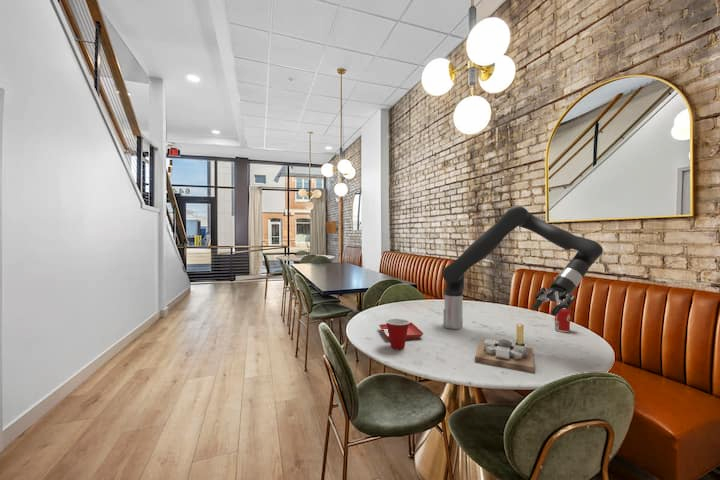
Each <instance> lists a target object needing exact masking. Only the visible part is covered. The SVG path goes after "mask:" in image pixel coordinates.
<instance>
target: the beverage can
mask: <svg viewBox="0 0 720 480" xmlns="http://www.w3.org/2000/svg"><path fill="white" fill-rule="evenodd" d="M570 324H571V310H570V308H568V309H565V308H563V309H561V310H560V311H559V312H558V314H557V315H555V316H554V329H555V330H556V331H557V332H560V333H568V332H569V331H571V326H570Z"/></svg>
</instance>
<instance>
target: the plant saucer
mask: <svg viewBox="0 0 720 480" xmlns="http://www.w3.org/2000/svg"><path fill="white" fill-rule="evenodd" d="M378 326H379V328H380V330H381V331H382V332H383V334H384V336H385V337H386V338H387V340H388V341H390V339H389V336H387V335H386V334H385V332H384V331H383V329H388V328H387V323H385V324H384V323H382V324H378ZM423 335H424V332H423V331H422V330H421V329H420V328H419V327H418V326H417V325H415V324H414V323H413V322H411V321H410V324H409V326H408V329H407V336H406V339H407V340H419V339H420V338H421V337H422V336H423Z"/></svg>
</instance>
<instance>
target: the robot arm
mask: <svg viewBox="0 0 720 480" xmlns="http://www.w3.org/2000/svg"><path fill="white" fill-rule="evenodd" d="M517 227H519V228H523V229H526V230H528V231H531V232H533V233H535V234H537V235H539V236H540V237H541V238H543V239H545V240H547V241H548V242H550V243H551V244H553V245H556V246H557V247H560V248H562V249H564V250H566V251H570V250H575V251H577V253H576V254H575V255H574V257H573V258H572V259H571V260H570V261H569V262H568V263H567V265H566V266H565V267H564V268H563V269H562V270H561V271H560V272H559V273H558V275H557V276H556V277H555V279H554V280H553V281H552V282H551V284H550V288H549V289H547V288H545V286H544V287H543V286H542V287H541V289H540V290H539V291H538V292H537V293H536V294H535V296H534V298H535V300H536V301H535V302H534V304H533V306H532V308H533V309H534V310H535V311H538V310H539V308H540V307H541V306H542V305H543V304H544V303H548V302H555V303H556V304H555V305H554V306H553V308H552V309H550V315H551V316H554V317H555V315H557V314H558V312H559V311H560V310H561V309H563V308H565V309H570V307H571V305H573V302H574V301H575V299H576V297H575V296H574V295H573V292H574V291H575V290H576V288H577V287H578V286H579V284H580V283H581V281H582V279H583V278H584V277H585V275H586V274H587V273H588V271H589V269H590V268H591V266H592V265H593V264H594V263H595V262H596V261H597V260H598V259H599V258H600V257H601V255H602V254H603V252H604V251H603V250H604V249H603V248H604V247H603V246H602V245H601V244H599V243H598V242H597V241H595V240H592V239H591V238H587V237H586V238H585V237H582V236H578V235H574V234H572V233H570V232H569V231H566V230H565V229H563V228H560V227H558V226H556V225H553V224H550V223H548V222H546V221H544V220H542V219H540V218H538V217H537V216H535V215H534V214H532V213H531V212H529V211H528V209H527V208H525V207H523V206H521V205H514V206H511V207H509V209H507V210H506V212H505V213H504V214H503V215H502V216H501V218H500V219H498V221H496V223H495V224H493V225H492V226H491V227H489V228H488V229H487V230H486V231H485V232H483V233H482V234H481V235H480V236H479V237H477V239H475V240H474V241H473V242H472V244H471V245H469V246H468V247H467V248H466V249H465V251H464V252H462V254H461V255H460V256H459V257H457V258H456V259H455V260H453V261H452V262H451V263H450V264H448V265H447V266H445V268H443V270H442V278H443V280H444V281H446V282H445V283H446V284H445V288H444V308H443V327H444V328H447V329H450V330H461V329H463V324H464V323H463V322H464V321H463V316H464V315H463V307H464V306H463V304H464V302H463V299H464V297H463V292H464V287H465V285H464V283H465V273H466V272H467V271H468V270H469V269H470V268H471V267H473V266H475V265H476V264H478V263H480V261H482V260H484V259H485V258H487V257H488V256H489V255H490V254H491V253H492V252H493V251H494V250H495V249H496V248H497V247H498V246H499V245H500V244H501V243H502V241H503V240H504V238H506V236H507V235H508V234H509V233H511V232H513V230H514V229H516V228H517Z"/></svg>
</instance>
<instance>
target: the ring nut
mask: <svg viewBox="0 0 720 480" xmlns="http://www.w3.org/2000/svg"><path fill="white" fill-rule="evenodd" d="M500 339H505V340H509V341H510V342H511V350H510V348H506V347H501V346H499V340H500ZM499 340H497V339H487V338H485V339H484V340H483V341H484V350H486V352H487V353H488V354H490V355H494V354H496V357H498V358H504V359H509V358H510V357H511V358H513V359H515V360H516V359H522V357H526V347H527V343H525V342H523V346H519V345H517V341H514V340H513V338H507V337H500V338H499ZM513 341H514V342H513Z"/></svg>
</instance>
